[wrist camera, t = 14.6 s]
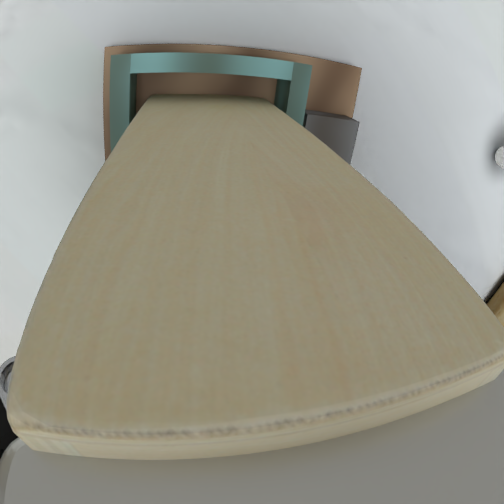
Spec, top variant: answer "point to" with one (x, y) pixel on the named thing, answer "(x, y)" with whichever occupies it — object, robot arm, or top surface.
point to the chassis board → (233, 85)
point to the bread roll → (498, 304)
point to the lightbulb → (500, 157)
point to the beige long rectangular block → (238, 298)
